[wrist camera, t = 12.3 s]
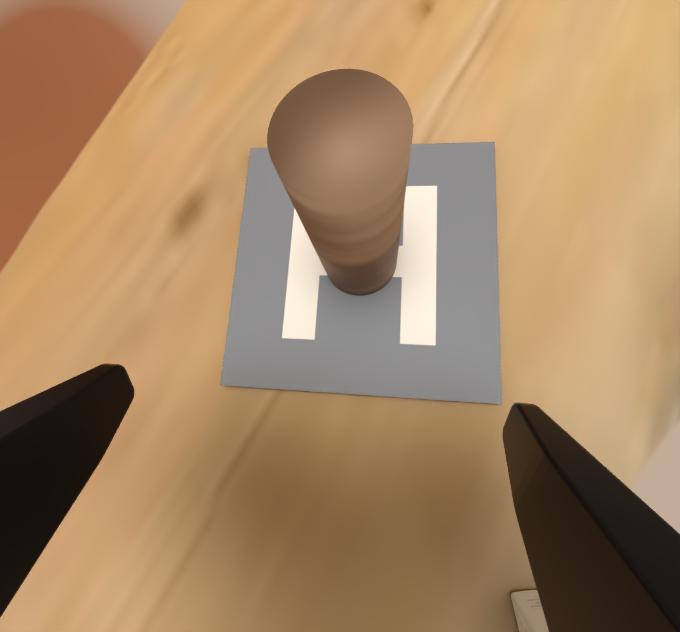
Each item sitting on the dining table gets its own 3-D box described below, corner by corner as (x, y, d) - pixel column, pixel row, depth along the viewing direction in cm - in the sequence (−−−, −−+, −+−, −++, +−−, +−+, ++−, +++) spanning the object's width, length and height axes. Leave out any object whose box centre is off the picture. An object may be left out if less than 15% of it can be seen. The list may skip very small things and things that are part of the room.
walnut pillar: (412, 259, 21) (445, 123, 10) (359, 310, 20) (335, 227, 10) (360, 214, 22) (340, 44, 11) (310, 261, 21) (239, 137, 11)
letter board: (498, 403, 19) (502, 404, 18) (224, 385, 21) (220, 385, 20) (491, 148, 22) (494, 141, 21) (253, 153, 24) (250, 147, 24)
